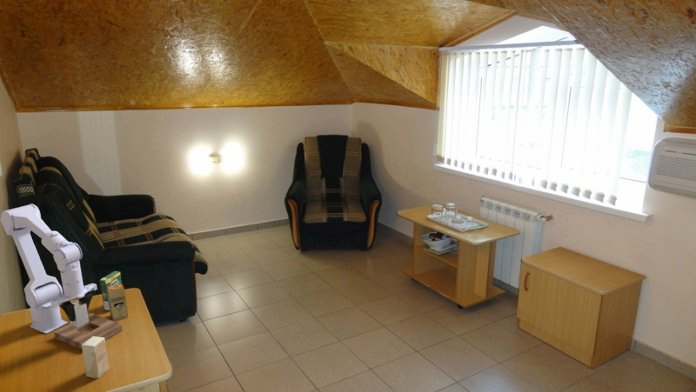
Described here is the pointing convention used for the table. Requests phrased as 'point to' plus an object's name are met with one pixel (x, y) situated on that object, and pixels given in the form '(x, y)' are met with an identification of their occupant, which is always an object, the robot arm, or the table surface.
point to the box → (95, 357)
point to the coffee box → (106, 281)
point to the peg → (80, 314)
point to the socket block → (88, 331)
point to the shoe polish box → (117, 301)
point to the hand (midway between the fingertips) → (78, 317)
